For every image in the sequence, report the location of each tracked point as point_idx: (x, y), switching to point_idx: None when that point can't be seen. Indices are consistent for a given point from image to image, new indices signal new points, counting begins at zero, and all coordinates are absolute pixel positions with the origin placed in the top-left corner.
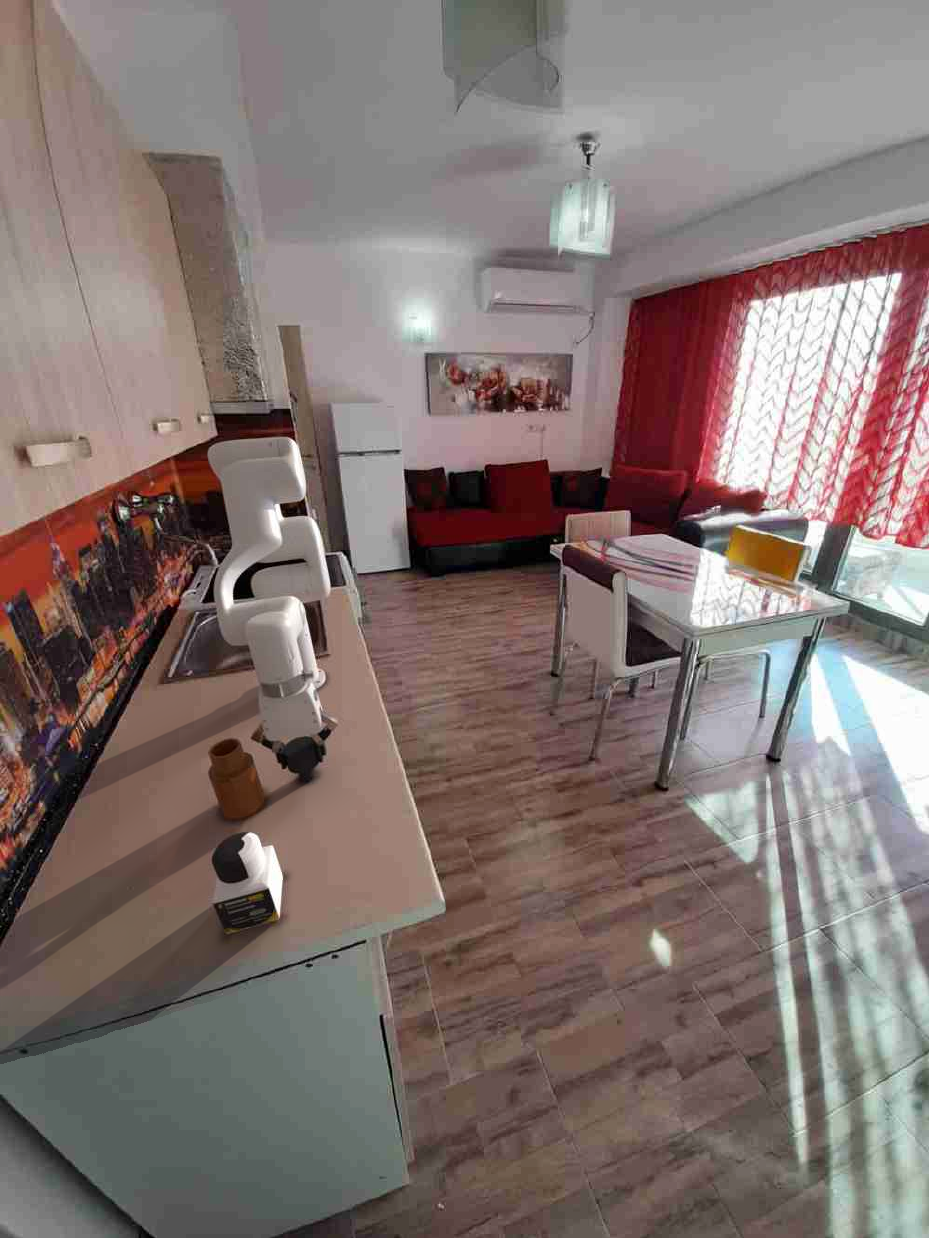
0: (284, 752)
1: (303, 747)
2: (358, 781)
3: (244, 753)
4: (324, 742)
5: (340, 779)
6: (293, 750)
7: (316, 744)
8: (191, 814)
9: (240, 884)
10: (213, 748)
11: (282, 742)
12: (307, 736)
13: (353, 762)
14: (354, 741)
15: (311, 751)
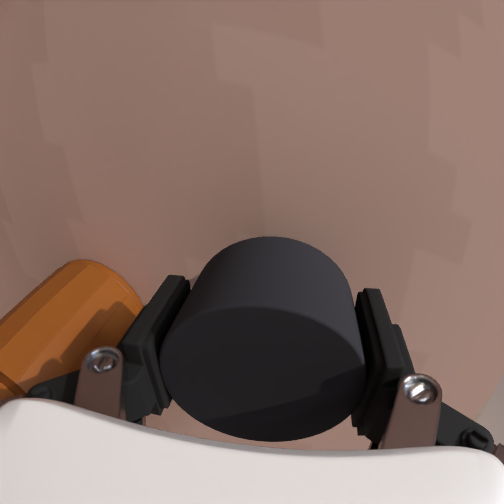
0: (175, 400)
1: (283, 404)
2: (441, 333)
3: (12, 383)
4: (410, 362)
5: (395, 312)
6: (224, 405)
7: (364, 421)
8: (14, 294)
9: None
10: None
11: (135, 348)
12: (311, 321)
13: (455, 243)
14: (477, 110)
15: (327, 429)
